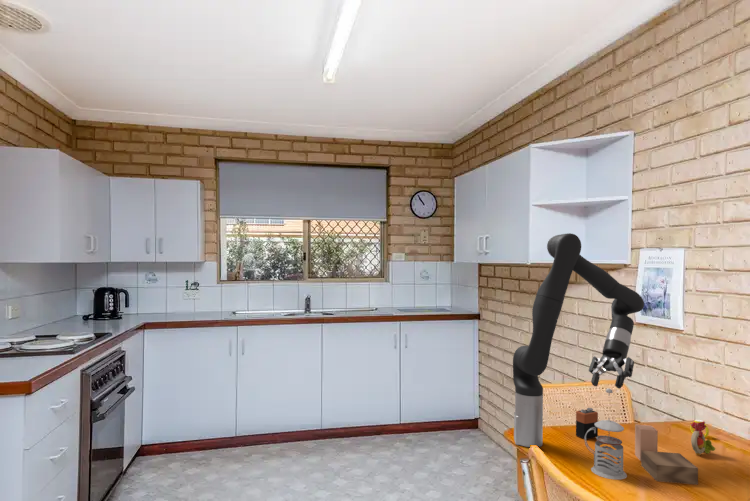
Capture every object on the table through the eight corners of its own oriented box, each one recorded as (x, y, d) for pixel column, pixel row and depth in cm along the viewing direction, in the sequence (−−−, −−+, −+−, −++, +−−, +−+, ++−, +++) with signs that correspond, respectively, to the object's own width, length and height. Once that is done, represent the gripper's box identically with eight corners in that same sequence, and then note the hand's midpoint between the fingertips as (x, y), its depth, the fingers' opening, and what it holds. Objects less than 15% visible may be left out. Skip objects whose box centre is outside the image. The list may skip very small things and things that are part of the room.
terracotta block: (640, 460, 153) (640, 429, 153) (634, 454, 158) (635, 424, 158) (657, 462, 152) (657, 430, 152) (651, 456, 157) (651, 425, 157)
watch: (689, 435, 179) (688, 418, 180) (693, 434, 180) (692, 418, 181) (706, 439, 174) (704, 422, 174) (710, 438, 175) (709, 421, 175)
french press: (625, 482, 136) (626, 394, 137) (582, 472, 143) (582, 388, 144) (628, 470, 145) (628, 387, 146) (587, 461, 151) (587, 382, 152)
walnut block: (656, 482, 138) (656, 464, 138) (641, 466, 149) (641, 450, 149) (697, 485, 136) (697, 468, 136) (679, 469, 147) (679, 453, 147)
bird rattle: (709, 464, 156) (717, 448, 161) (704, 436, 154) (712, 420, 159) (687, 458, 161) (696, 442, 166) (682, 430, 158) (691, 415, 164)
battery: (598, 437, 173) (598, 409, 174) (585, 439, 171) (585, 411, 171) (588, 433, 177) (588, 406, 178) (575, 436, 174) (575, 408, 175)
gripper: (592, 338, 170) (580, 379, 163) (630, 337, 158) (619, 382, 151) (604, 349, 172) (593, 390, 165) (643, 349, 160) (632, 393, 153)
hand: (605, 386), depth 158 cm, fingers open, 8 cm apart
